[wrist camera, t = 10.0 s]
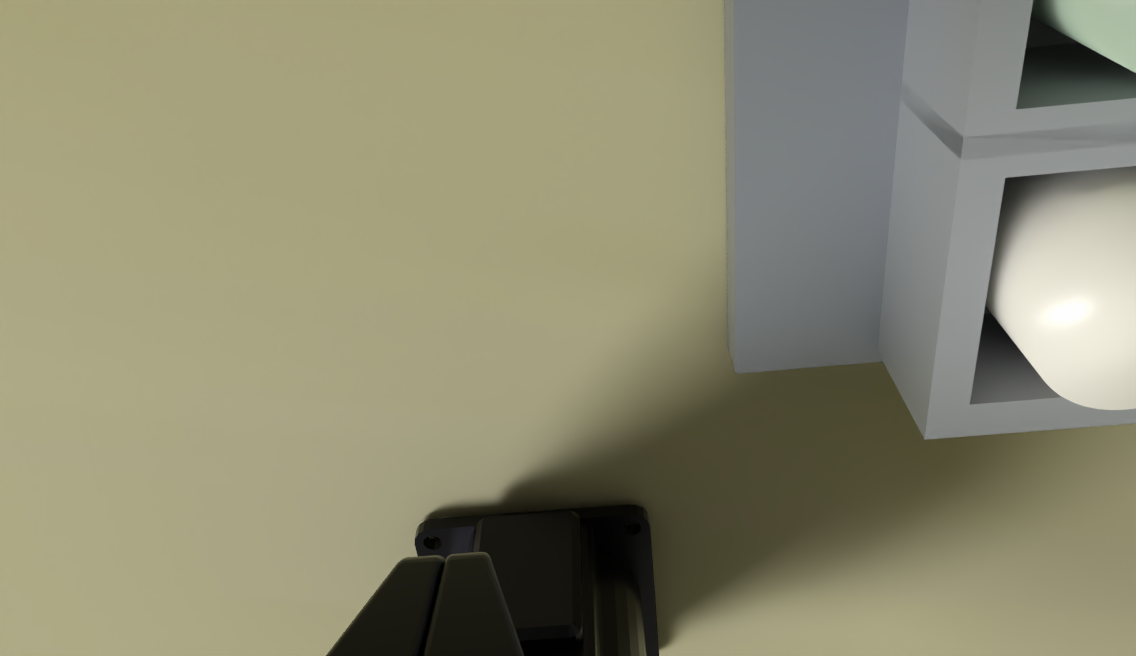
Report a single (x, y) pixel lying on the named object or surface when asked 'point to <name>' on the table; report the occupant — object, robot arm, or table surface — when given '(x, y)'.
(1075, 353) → the ivory button
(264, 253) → the table surface
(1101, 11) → the sage button
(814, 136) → the grey compartment tray
